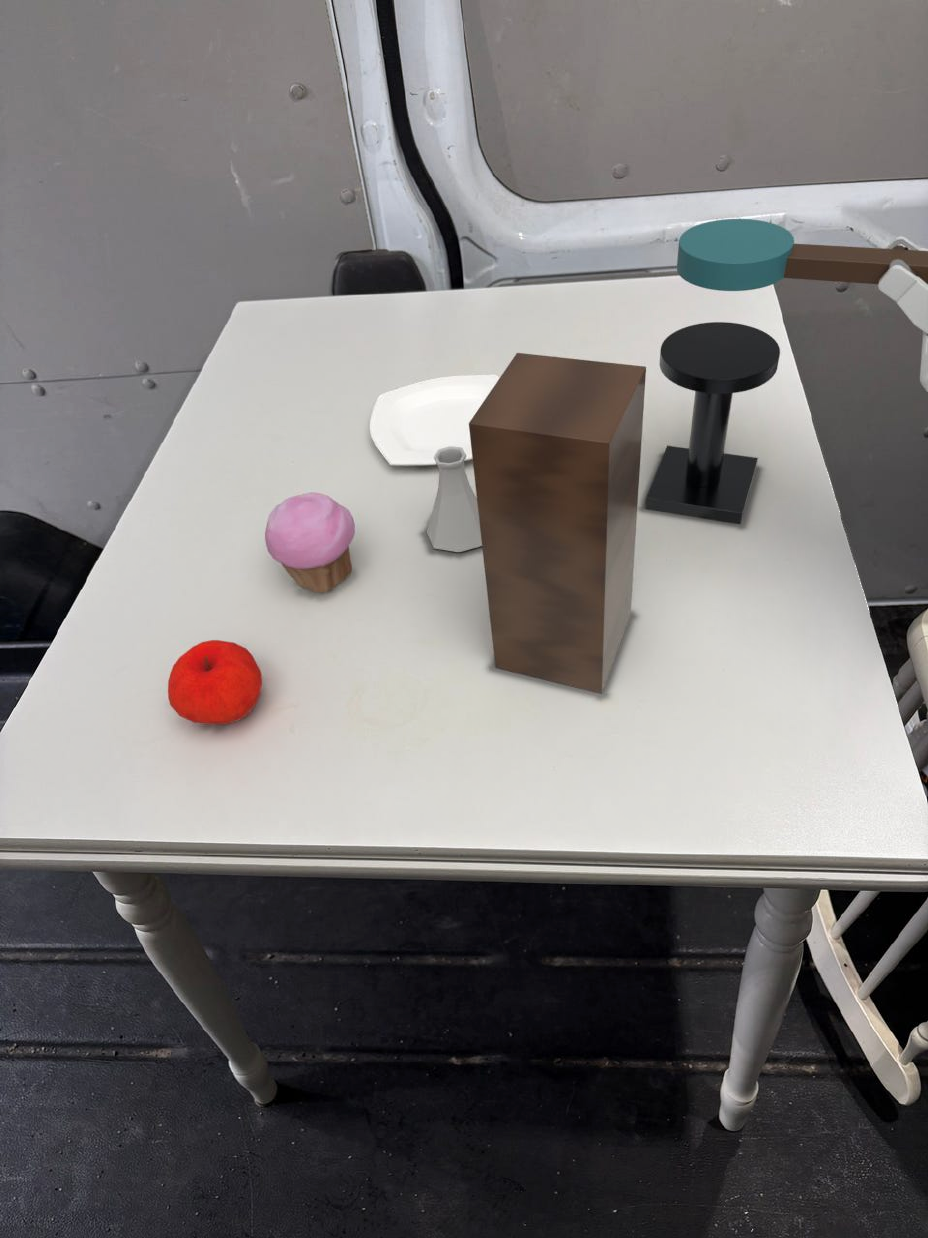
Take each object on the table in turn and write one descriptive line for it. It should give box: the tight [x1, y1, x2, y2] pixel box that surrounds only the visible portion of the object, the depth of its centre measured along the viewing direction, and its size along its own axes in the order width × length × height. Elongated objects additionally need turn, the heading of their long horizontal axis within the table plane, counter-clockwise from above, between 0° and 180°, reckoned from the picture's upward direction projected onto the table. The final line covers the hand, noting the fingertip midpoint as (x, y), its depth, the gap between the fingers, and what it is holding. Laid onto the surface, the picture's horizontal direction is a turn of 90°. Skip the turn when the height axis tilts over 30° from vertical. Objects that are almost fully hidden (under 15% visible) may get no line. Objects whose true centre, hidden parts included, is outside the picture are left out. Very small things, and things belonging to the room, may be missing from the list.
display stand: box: [644, 321, 781, 525], centre depth 86 cm, size 11×11×16 cm
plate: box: [369, 374, 501, 467], centre depth 104 cm, size 19×19×2 cm
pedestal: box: [469, 352, 647, 694], centre depth 69 cm, size 10×10×26 cm
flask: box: [426, 446, 482, 553], centre depth 87 cm, size 7×7×10 cm
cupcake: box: [264, 491, 356, 594], centre depth 84 cm, size 9×9×10 cm
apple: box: [167, 639, 263, 726], centre depth 73 cm, size 8×8×7 cm
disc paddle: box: [676, 218, 928, 292], centre depth 59 cm, size 20×8×2 cm, turn 68°
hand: (887, 259), depth 58 cm, fingers closed on disc paddle, 2 cm apart
